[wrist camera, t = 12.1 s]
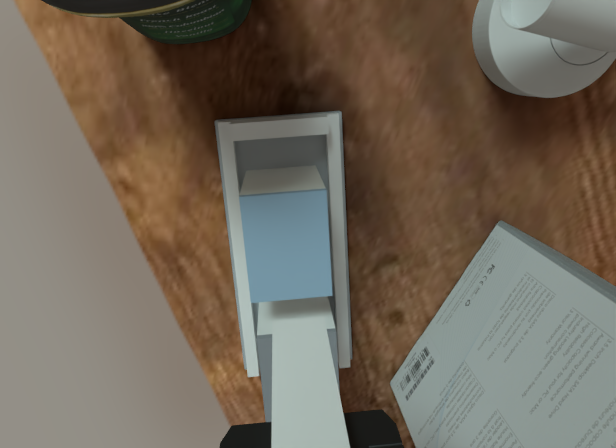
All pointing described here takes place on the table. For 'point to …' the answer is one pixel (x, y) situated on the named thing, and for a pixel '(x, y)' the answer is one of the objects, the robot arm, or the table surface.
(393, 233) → the table surface
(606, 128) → the table surface
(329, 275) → the module
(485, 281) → the hard drive box
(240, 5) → the coffee jar
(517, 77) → the wall hook
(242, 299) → the rail
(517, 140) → the table surface
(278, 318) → the block
